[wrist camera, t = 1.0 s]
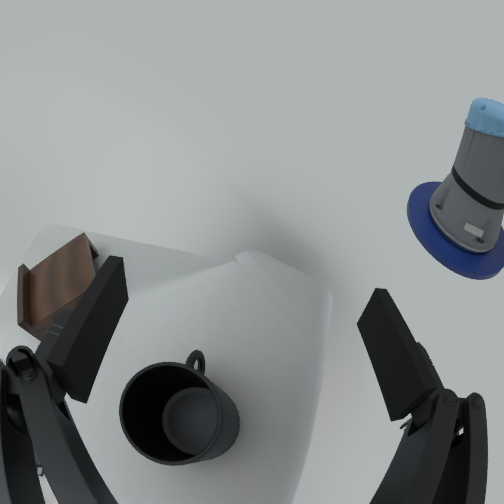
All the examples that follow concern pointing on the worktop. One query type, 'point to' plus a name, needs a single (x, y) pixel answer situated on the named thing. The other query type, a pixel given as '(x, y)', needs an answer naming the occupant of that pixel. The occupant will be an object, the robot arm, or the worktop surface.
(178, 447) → the mug
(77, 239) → the wooden stand
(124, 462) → the worktop surface
